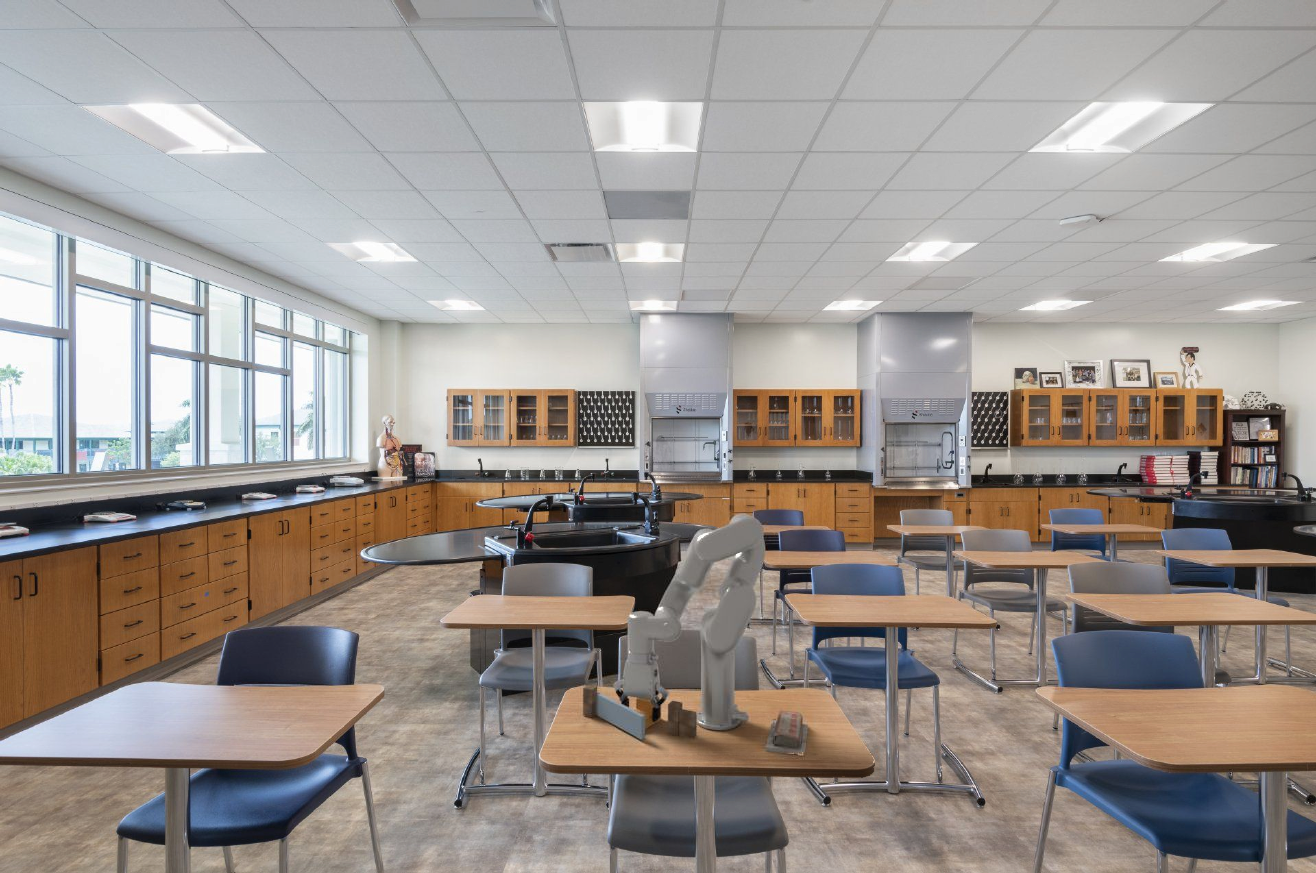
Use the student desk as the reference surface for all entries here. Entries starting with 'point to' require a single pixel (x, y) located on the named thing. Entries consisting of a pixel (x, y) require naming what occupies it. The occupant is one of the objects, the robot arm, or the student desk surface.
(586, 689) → the wooden posts
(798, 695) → the student desk surface
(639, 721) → the gate door
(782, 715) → the packaged product
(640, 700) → the orange stepped block
